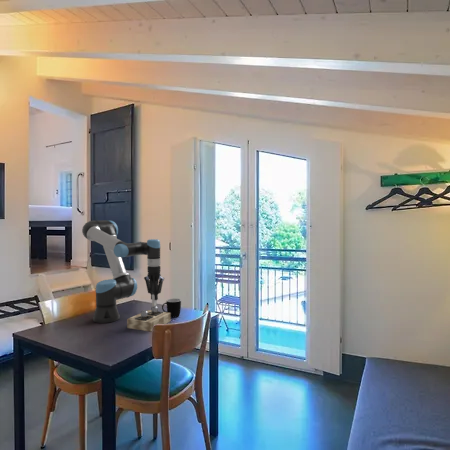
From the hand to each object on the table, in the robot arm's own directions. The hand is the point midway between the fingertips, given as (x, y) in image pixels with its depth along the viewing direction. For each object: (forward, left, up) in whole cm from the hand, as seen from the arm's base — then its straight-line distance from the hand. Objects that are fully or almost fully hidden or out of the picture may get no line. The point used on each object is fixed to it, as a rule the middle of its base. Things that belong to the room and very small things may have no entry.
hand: (154, 305), depth 208 cm
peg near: (0, -10, -6) cm, 12 cm away
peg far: (0, 0, -6) cm, 6 cm away
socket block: (0, -5, -10) cm, 11 cm away
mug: (+3, +14, -10) cm, 18 cm away
